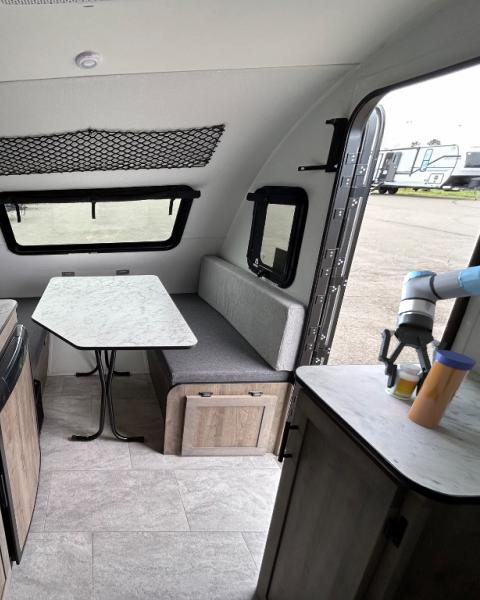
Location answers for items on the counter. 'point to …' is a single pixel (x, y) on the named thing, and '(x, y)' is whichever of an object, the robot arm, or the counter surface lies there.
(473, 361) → the jar lid
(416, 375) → the supplement bottle
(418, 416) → the jar
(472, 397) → the counter surface
